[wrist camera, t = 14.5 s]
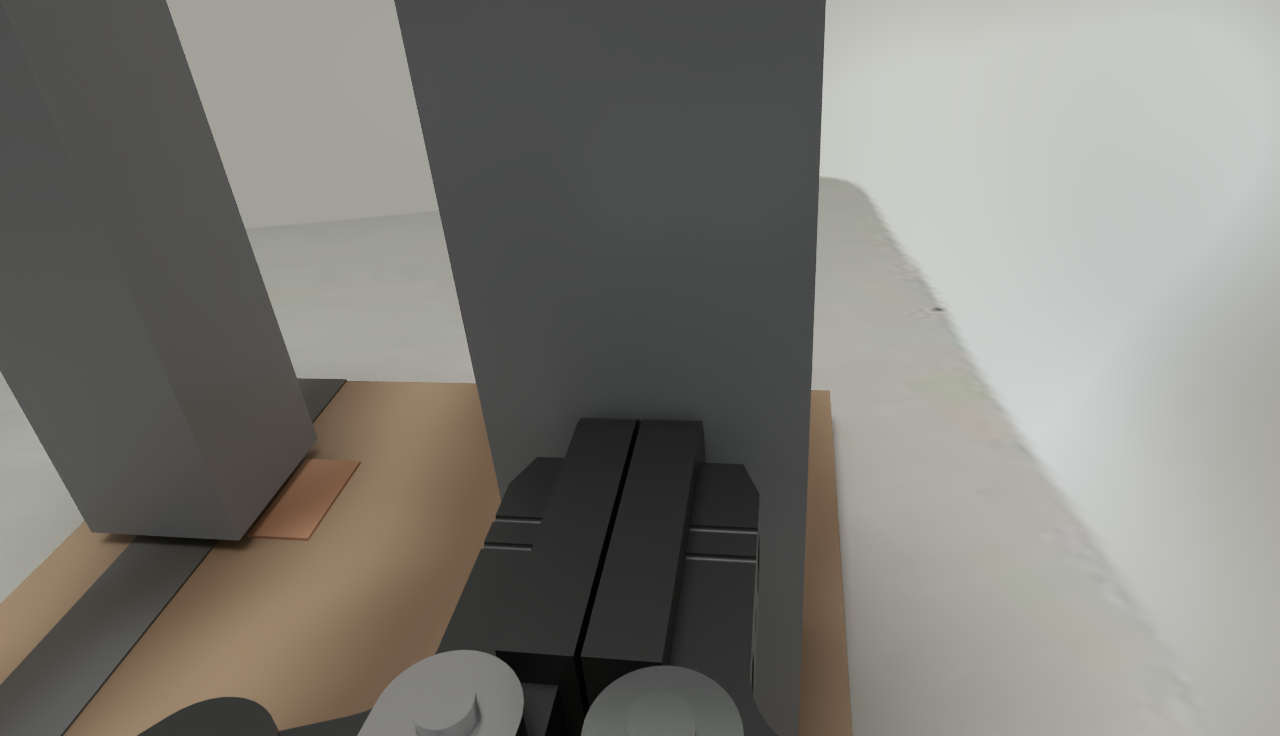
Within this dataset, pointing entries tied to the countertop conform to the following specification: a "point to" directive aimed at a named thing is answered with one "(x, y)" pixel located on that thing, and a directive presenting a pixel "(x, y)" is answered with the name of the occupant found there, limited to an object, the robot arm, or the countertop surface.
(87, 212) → the slider
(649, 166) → the slider
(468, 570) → the board
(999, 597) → the countertop surface
